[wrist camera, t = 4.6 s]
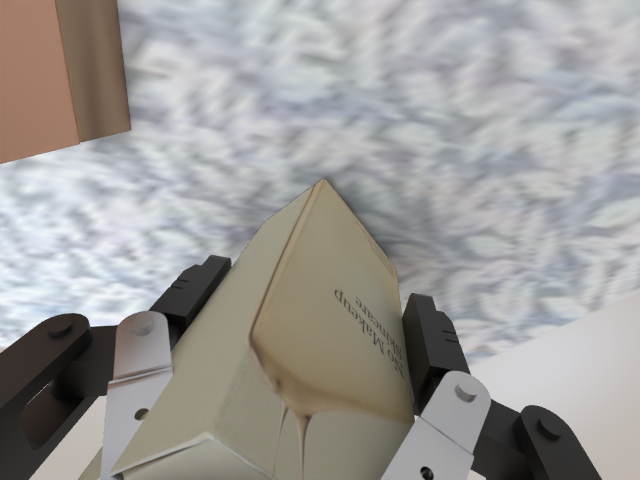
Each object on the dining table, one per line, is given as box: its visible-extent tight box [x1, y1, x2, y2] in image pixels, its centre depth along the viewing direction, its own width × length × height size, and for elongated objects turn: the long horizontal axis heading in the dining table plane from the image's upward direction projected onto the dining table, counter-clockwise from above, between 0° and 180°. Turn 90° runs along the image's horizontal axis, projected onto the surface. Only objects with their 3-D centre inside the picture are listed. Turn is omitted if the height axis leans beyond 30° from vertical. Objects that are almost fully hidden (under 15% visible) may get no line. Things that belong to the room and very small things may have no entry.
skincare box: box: [78, 179, 415, 480], centre depth 11 cm, size 6×4×12 cm
